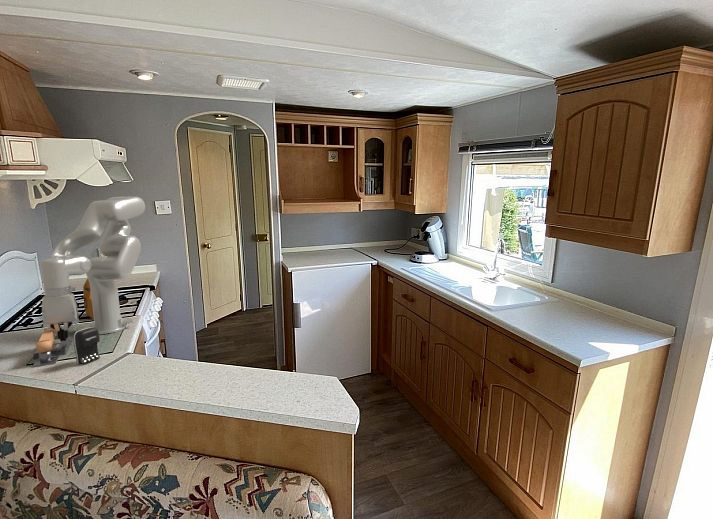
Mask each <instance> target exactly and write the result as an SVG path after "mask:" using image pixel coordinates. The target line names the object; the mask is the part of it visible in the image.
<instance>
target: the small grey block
mask: <svg viewBox="0 0 713 519" xmlns="http://www.w3.org/2000/svg"><path fill="white" fill-rule="evenodd" d="M39 358H40V359H35V362H34V363H33V365H32V368H38V367H42V366H43V367H45V366H49V365H55V364H57V362H58V360H59V358H60V355H58V356H52V355H51V350H50V351H47V352H41V353H39Z"/></svg>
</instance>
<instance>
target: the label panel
mask: <svg viewBox="0 0 713 519" xmlns="http://www.w3.org/2000/svg"><path fill="white" fill-rule="evenodd" d="M72 337H73V336H68V338H67V339H66V341H62V342H60V339H58V338H55V339H54V341H53V344H52V350H51V355H52V357H55V356H64V355H65V356H66V354H67V353H68V350H69V349H70V347H71V344H72V343H73V338H72ZM32 359H33V360H34V361H35V360H37V359H40V358H39V353H38V352H37V348H36V349H35V350H34V352H33V353H32Z"/></svg>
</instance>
